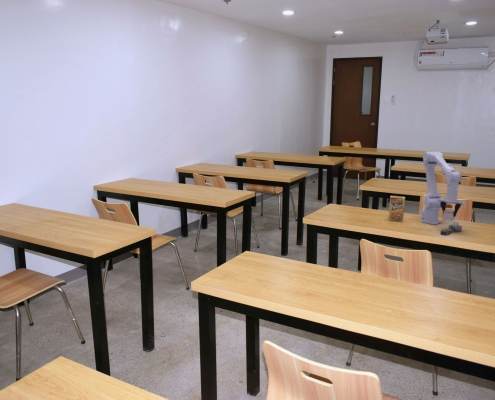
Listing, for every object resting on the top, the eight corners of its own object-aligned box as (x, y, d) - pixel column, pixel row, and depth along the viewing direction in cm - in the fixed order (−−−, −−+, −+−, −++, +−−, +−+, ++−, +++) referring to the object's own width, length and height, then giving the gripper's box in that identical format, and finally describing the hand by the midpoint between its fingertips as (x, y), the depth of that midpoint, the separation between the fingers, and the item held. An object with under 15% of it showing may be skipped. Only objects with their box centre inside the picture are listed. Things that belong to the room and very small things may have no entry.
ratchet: (436, 233, 247) (437, 225, 246) (451, 227, 259) (452, 219, 258) (449, 236, 242) (450, 227, 241) (463, 230, 254) (464, 222, 253)
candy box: (388, 220, 274) (390, 196, 271) (388, 219, 278) (390, 195, 275) (402, 222, 271) (405, 198, 268) (403, 220, 275) (405, 196, 272)
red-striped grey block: (442, 219, 251) (443, 210, 250) (445, 217, 255) (446, 208, 254) (452, 221, 248) (453, 211, 247) (454, 219, 252) (455, 210, 251)
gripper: (436, 192, 250) (434, 214, 253) (464, 195, 241) (461, 219, 244) (440, 190, 255) (437, 212, 258) (467, 193, 247) (464, 216, 250)
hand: (449, 215), depth 251 cm, fingers closed on red-striped grey block, 5 cm apart
